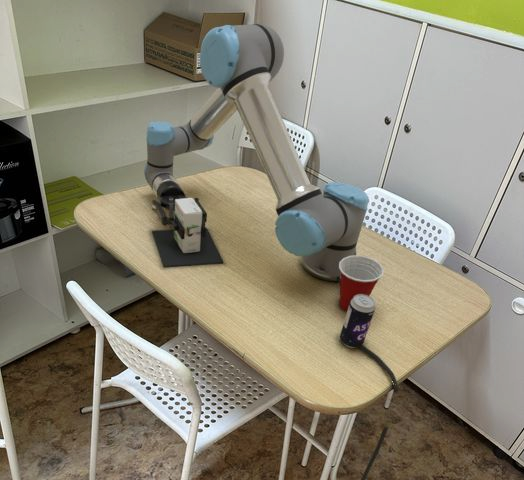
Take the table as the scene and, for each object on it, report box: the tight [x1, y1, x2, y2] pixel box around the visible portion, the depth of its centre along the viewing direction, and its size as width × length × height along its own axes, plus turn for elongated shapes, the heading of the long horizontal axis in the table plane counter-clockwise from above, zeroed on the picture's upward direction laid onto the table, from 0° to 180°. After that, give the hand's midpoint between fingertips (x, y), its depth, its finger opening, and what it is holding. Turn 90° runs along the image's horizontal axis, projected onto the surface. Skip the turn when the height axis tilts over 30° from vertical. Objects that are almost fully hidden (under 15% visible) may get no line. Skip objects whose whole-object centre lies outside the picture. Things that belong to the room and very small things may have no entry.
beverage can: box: [339, 294, 376, 349], centre depth 117 cm, size 6×6×12 cm
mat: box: [151, 227, 225, 268], centre depth 143 cm, size 18×16×1 cm
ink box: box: [174, 197, 202, 253], centre depth 138 cm, size 8×5×12 cm, turn 25°
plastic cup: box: [339, 254, 385, 312], centre depth 128 cm, size 11×11×12 cm
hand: (193, 233), depth 135 cm, fingers closed on ink box, 5 cm apart
